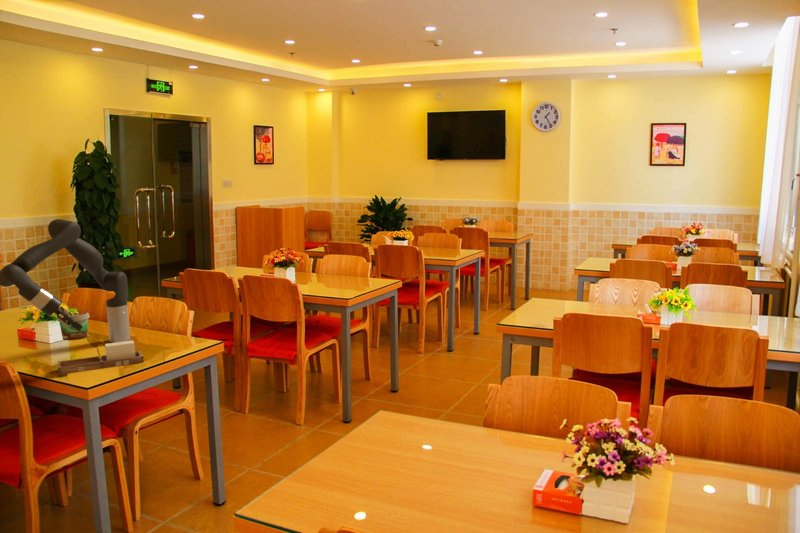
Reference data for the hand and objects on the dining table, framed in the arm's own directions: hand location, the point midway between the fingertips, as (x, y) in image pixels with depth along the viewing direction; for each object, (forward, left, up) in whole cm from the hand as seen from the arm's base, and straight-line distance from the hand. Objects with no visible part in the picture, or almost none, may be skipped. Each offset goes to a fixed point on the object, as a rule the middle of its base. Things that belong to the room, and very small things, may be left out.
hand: (80, 326), depth 279 cm
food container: (0, -1, -5) cm, 5 cm away
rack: (0, +6, -18) cm, 19 cm away
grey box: (0, +14, -17) cm, 22 cm away
